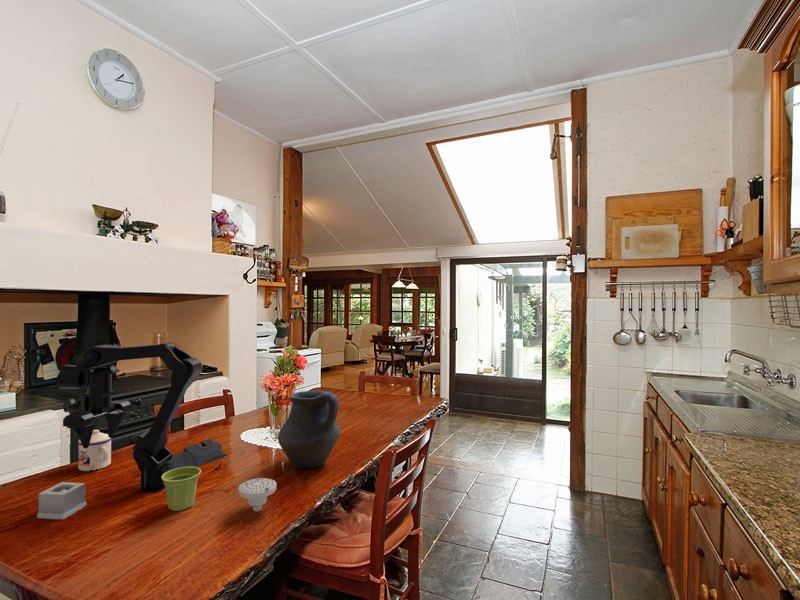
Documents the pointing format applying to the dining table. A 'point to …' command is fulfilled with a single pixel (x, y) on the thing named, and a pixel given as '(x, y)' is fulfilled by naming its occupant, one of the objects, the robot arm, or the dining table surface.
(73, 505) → the collar
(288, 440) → the pitcher
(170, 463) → the dark slate chunk
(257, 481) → the showerhead
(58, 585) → the dining table surface
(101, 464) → the teacup with lid
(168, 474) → the plant pot
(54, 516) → the shaft base
